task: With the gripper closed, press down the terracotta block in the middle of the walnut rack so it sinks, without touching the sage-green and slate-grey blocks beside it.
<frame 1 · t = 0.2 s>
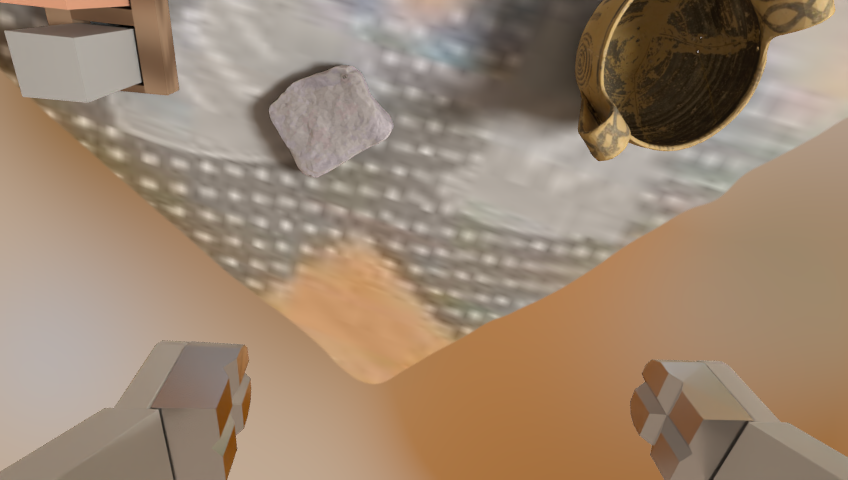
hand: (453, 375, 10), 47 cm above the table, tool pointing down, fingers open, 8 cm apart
slate block: (83, 59, 42), point 7 cm above the table, slide at 0.0 cm
stone block: (329, 113, 54), on the table
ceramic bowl: (628, 51, 52), on the table
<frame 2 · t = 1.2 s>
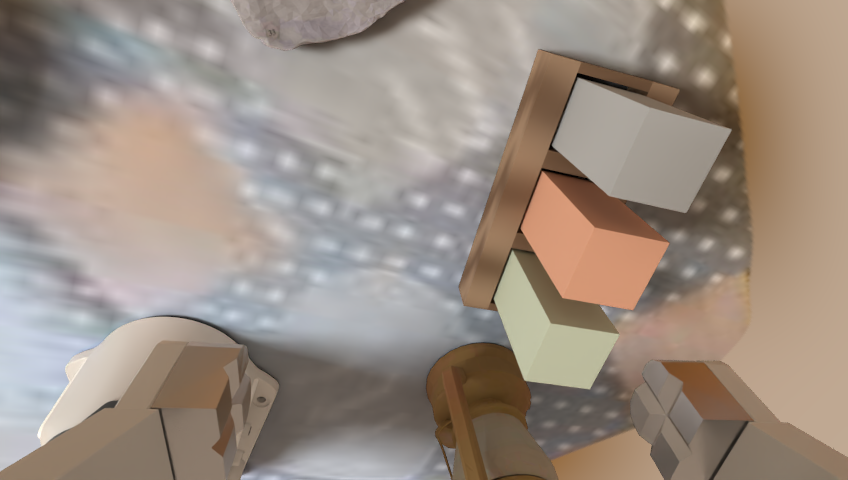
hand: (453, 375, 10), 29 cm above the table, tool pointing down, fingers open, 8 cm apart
slate block: (626, 138, 30), point 8 cm above the table, slide at 0.0 cm
sage block: (547, 313, 36), point 8 cm above the table, slide at 0.0 cm
lantern: (474, 379, 49), on the table
terracotta block: (583, 234, 33), point 8 cm above the table, slide at 0.0 cm
walnut rack: (549, 193, 40), on the table
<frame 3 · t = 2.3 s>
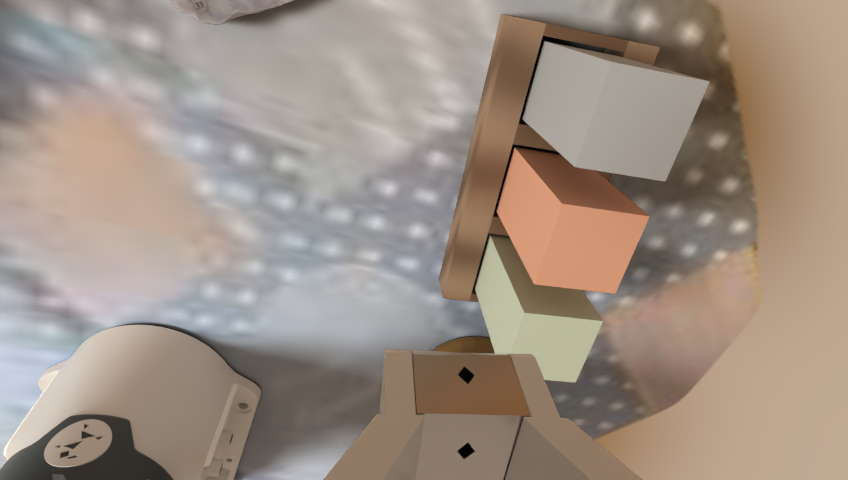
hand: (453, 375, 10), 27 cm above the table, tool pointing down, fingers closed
slate block: (597, 103, 27), point 7 cm above the table, slide at 0.0 cm
sage block: (528, 301, 33), point 8 cm above the table, slide at 0.0 cm
lantern: (466, 375, 46), on the table
terracotta block: (559, 213, 30), point 8 cm above the table, slide at 0.0 cm
walnut rack: (527, 173, 37), on the table
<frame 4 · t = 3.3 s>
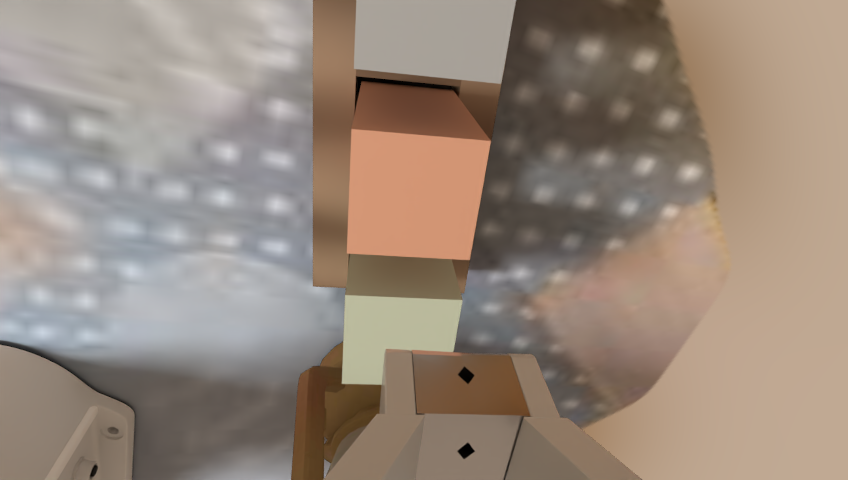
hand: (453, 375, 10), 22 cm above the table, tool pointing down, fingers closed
sage block: (396, 282, 25), point 7 cm above the table, slide at 0.0 cm
lantern: (379, 378, 39), on the table
terracotta block: (408, 158, 22), point 7 cm above the table, slide at 0.0 cm
walnut rack: (402, 120, 29), on the table
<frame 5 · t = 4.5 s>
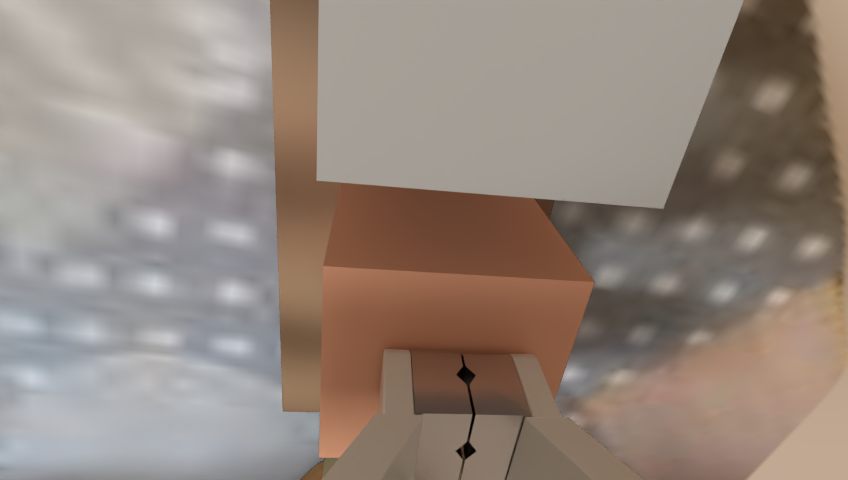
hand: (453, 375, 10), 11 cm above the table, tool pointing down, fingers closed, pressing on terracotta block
sage block: (403, 445, 16), point 7 cm above the table, slide at 0.0 cm
terracotta block: (425, 255, 14), point 6 cm above the table, slide at -1.1 cm, touching gripper
walnut rack: (412, 179, 20), on the table
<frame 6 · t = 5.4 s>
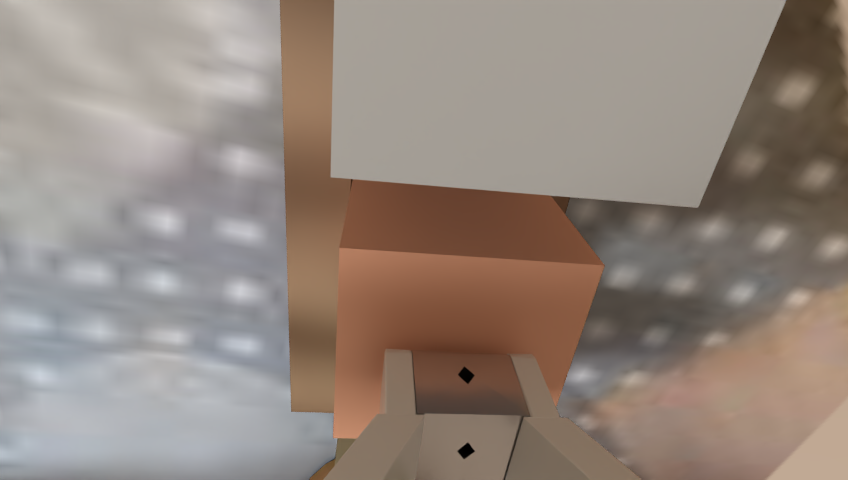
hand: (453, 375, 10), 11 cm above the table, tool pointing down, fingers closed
sage block: (414, 448, 16), point 7 cm above the table, slide at 0.0 cm
terracotta block: (436, 244, 14), point 6 cm above the table, slide at -1.7 cm
walnut rack: (423, 177, 19), on the table
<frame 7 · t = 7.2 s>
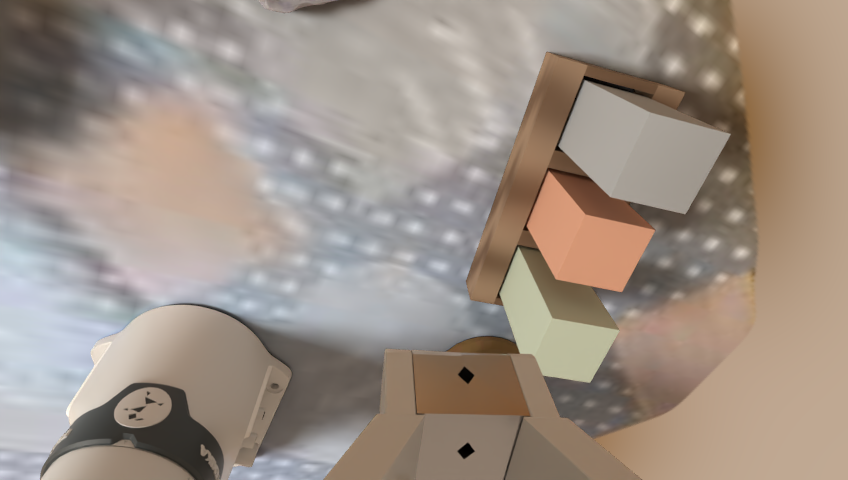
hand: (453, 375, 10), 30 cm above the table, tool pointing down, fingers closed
slate block: (629, 140, 31), point 7 cm above the table, slide at 0.0 cm
sage block: (551, 308, 37), point 7 cm above the table, slide at 0.0 cm
lantern: (480, 371, 50), on the table
terracotta block: (578, 221, 35), point 6 cm above the table, slide at -1.7 cm
walnut rack: (555, 192, 40), on the table
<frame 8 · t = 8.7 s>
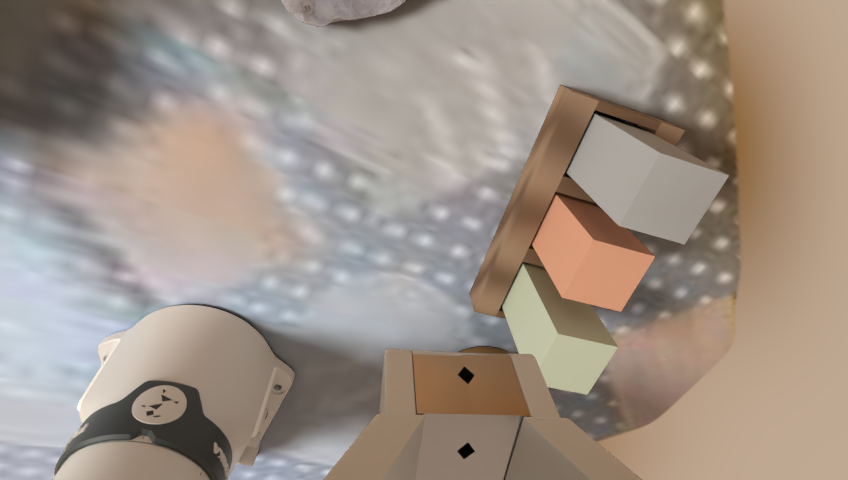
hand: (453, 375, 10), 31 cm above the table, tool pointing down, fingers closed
slate block: (635, 173, 34), point 8 cm above the table, slide at 0.0 cm
sage block: (552, 323, 40), point 8 cm above the table, slide at 0.0 cm
terracotta block: (582, 244, 38), point 6 cm above the table, slide at -1.7 cm
walnut rack: (559, 214, 43), on the table
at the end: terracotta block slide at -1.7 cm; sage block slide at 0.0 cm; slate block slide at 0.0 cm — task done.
